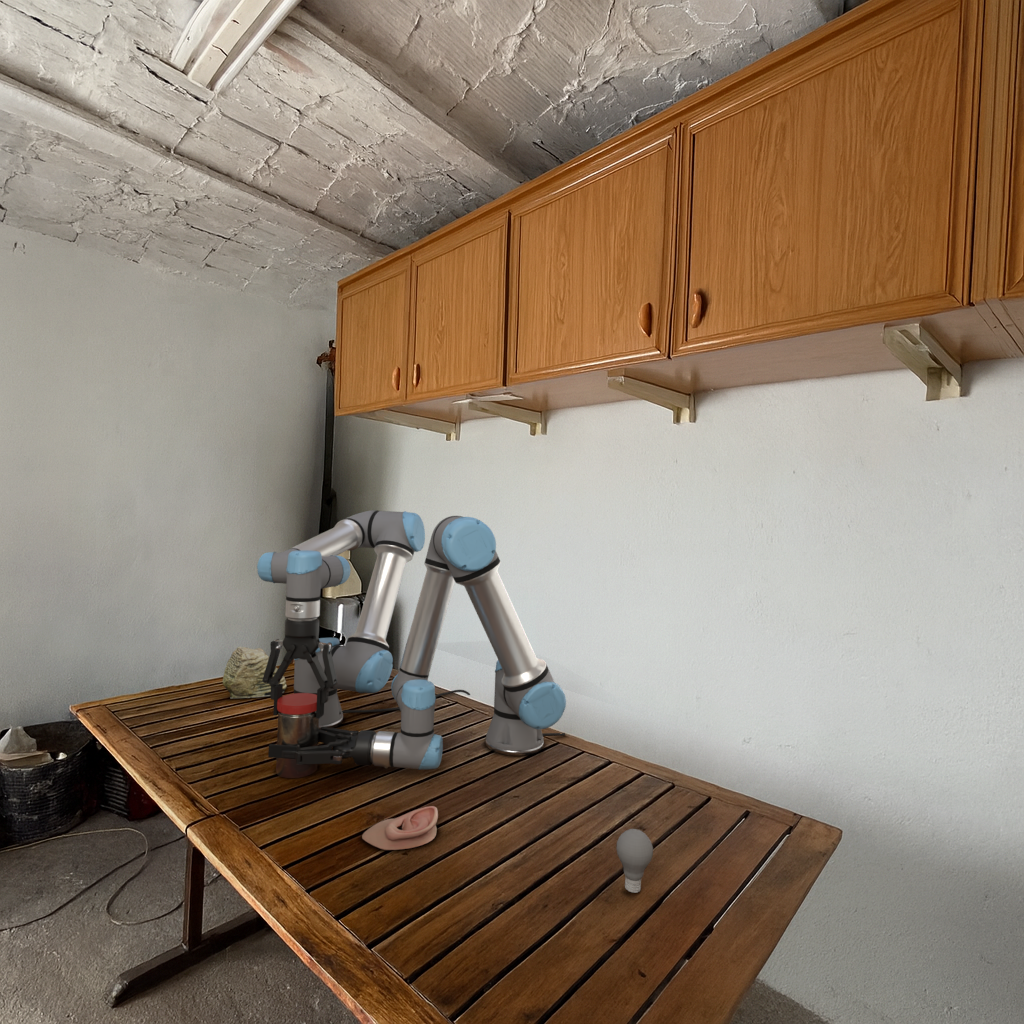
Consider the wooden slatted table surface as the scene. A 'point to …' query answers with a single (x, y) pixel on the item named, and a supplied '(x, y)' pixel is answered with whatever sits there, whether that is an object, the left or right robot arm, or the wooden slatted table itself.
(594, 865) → the wooden slatted table surface
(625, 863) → the light bulb
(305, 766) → the jar
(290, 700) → the lid
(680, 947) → the wooden slatted table surface
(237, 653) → the fossil
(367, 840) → the anatomical model
